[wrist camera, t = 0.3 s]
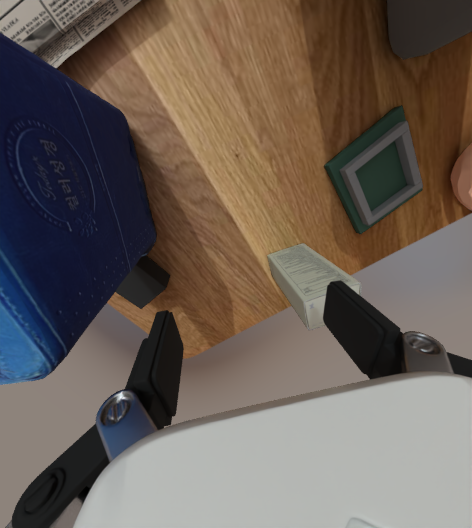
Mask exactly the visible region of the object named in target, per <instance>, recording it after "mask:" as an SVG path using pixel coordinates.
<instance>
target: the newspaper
mask: <svg viewBox="0 0 472 528" xmlns="http://www.w3.org/2000/svg"><path fill="white" fill-rule="evenodd" d="M140 1H141V0H0V33H2V34H3V35H5V36H7V37H8V38H10V39H11V40H13V41H14V42H16V43H17V44H19V45H21V46H22V47H24V48H26V49H27V50H29V51H30V52H32V53H34V54H35V55H37V56H38V57H40V58H41V59H42V60H44V61H45V62H47V63H49V64H50V65H52V66H53V67H55V68H57V67H58V66H59V65H61V64H62V63H63V62H64V61H65V60H66V59H67V58H68V57H69V56H71V55H72V54H73V53H75V52H76V51H77V50H78V49H80V48H81V47H82V46H83V45H85V44H86V43H87V42H89V41H90V40H91V39H92V38H94V37H95V36H96V35H98V34H99V33H100V32H101V31H103V30H104V29H105V28H106V27H108V26H109V25H110V24H112V23H113V22H114V21H115V20H117V19H118V18H119V17H120V16H122V15H123V14H124V13H126V12H127V11H128V10H129V9H131V8H132V7H133V6H135V5H136V4H137V3H138V2H140Z"/></svg>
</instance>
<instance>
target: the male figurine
mask: <svg viewBox="0 0 472 528" xmlns="http://www.w3.org/2000/svg"><path fill="white" fill-rule="evenodd" d="M450 178H451V182H452V187H453V191H454V195H455V196H456V198H457V199H458V201H459V202H461V203H462V204H463V205H464V206H465V207H466V208H468V209H469V210H471V211H472V143H471V144H470V145H469V146H468V147H467V148H466V149H465V150H464V151H463V153H462V154H461V155H460V156H459V158H458V159H457V160H456V163H455V165H454V167H453V170H452V174H451V177H450Z"/></svg>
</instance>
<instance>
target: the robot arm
mask: <svg viewBox="0 0 472 528" xmlns="http://www.w3.org/2000/svg"><path fill="white" fill-rule="evenodd" d="M323 321H324V323H325V325H326V326H327V327H328V329H329V330H330V331H331V333H332V334H333V335H334V337H335V338H336V339H337V340H338V342H339V343H340V344H341V345H342V347H343V348H344V350H345V351H346V352H347V353H348V355H349V356H350V357H351V359H352V360H353V361H354V363H355V364H356V365H357V366H358V368H359V369H360V370H361V372H363V373H364V374H366V375H367V376H368V377H369V378H370V380H366V381H361V382H357V383H352V384H347V385H343V386H338V387H333V388H329V389H324V390H320V391H315V392H310V393H306V394H301V395H297V396H293V397H288V398H283V399H279V400H274V401H270V402H266V403H261V404H257V405H252V406H248V407H244V408H239V409H235V410H230V411H226V412H222V413H217V414H213V415H209V416H206V417H202V418H197V419H193V420H189V421H185V422H182V423H178V424H175V425H172V426H169V427H166V428H164V426H168V425H171V420H172V416H175V414H176V408H177V400H178V392H179V384H180V376H181V367H182V359H183V350H184V349H183V343H182V340H181V337H180V334H179V331H178V328H177V325H176V322H175V319H174V316H173V314H172V312H170V313H169V311H168V310H166V311H161V312H157V313H156V316H155V319H154V322H153V325H152V328H151V331H150V334H149V337H148V338H146V339H144V340H143V341H142V344H141V346H140V349H139V352H138V355H137V357H136V360H135V363H134V365H133V368H132V371H131V374H130V376H129V379H128V382H127V385H126V387H125V389H124V390H120V391H118V392H116V393H114V394H113V395H111V396H110V397H109V398H108V399H107V400H106V401H105V402H104V403H103V405H102V406H101V407H100V409H99V411H98V413H97V417H96V424H95V425H94V426H93V427H92V428H90V429H89V430H88V431H87V432H86V433H85V434H84V435H83V436H82V437H80V438H79V440H77V441H76V442H75V443H74V444H73V445H72V446H71V447H69V448H68V449H67V450H66V451H65V452H64V453H63V454H62V455H61V456H60V457H58V458H57V459H56V460H55V461H54V462H53V463H52V464H51V465H50V466H48V467H47V468H46V469H45V470H44V471H43V472H42V473H41V474H40V475H39V476H38V477H37V478H36V479H35V480H34V481H33V482H32V483H31V484H30V485H29V486H28V488H27V489H26V490H25V492H24V493H23V494H22V496H21V498H20V500H19V501H18V503H17V505H16V507H15V510H14V513H13V516H12V520H11V522H10V523H9V524H8V525H7V526H6V527H5V528H472V360H469V359H466V358H463V357H460V356H457V355H454V354H451V353H448V352H446V350H445V348H444V347H443V345H442V344H441V343H440V342H439V341H437V340H436V339H434V338H433V337H431V336H429V335H426V334H423V333H420V332H415V331H409V332H405V333H404V334H403V333H402V332H400V328H399V327H398V326H396V325H395V324H394V323H393V322H392V321H390V320H389V319H388V318H387V317H385V316H384V315H383V314H382V313H381V312H379V311H378V310H377V309H376V308H375V307H373V306H372V305H371V304H370V303H368V302H367V301H366V300H365V299H364V298H362V297H361V296H360V295H359V294H357V293H356V292H355V291H354V290H353V289H351V288H350V287H349V286H348V285H346V284H345V283H344V282H343V281H341V280H338V281H332V282H330V283H329V285H328V286H327V291H326V298H325V305H324V313H323Z"/></svg>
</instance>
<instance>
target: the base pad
mask: <svg viewBox="0 0 472 528" xmlns="http://www.w3.org/2000/svg"><path fill="white" fill-rule="evenodd" d="M325 168H326V170H327V172H328V174H329V177H330V179H331V181H332V183H333V185H334V187H335V189H336V191H337V193H338V195H339V197H340V200H341V202H342V204H343V206H344V208H345V210H346V212H347V214H348V216H349V218H350V220H351V222H352V225H353V227H354V229H355V231H356V233H359V234H362V233H363V232H365V231H366V230H367V229H369V228H370V227H372V226H373V225H374V224H376V223H377V222H379V221H380V220H381V219H383V218H384V217H386V216H387V215H388V214H390V213H391V212H393V211H394V210H395V209H397V208H398V207H400V206H401V205H402V204H404V203H405V202H407V201H408V200H409V199H411V198H412V197H414V196H415V195H416V194H418V193H419V192H421V191H422V190H423V189H422V187H423V184H422V181H421V176H420V172H419V167H418V163H417V159H416V155H415V151H414V146H413V142H412V138H411V134H410V130H409V125H408V121H406V119H405V115H404V110H403V106H402V105H401V106H398V107H395V108H394V109H393V110H391V111H390V112H389V113H388V114H387V115H385V116H384V117H383V118H382V119H380V120H379V121H378V122H377V123H376V124H374V125H373V126H372V127H371V128H369V129H368V130H367V131H366V132H365V133H363V134H362V135H361V136H360V137H359V138H357V139H356V140H355V141H354V142H352V143H351V144H350V145H349V146H348V147H346V148H345V149H344V150H343V151H341V152H340V153H339V154H338V155H337V156H335V157H334V158H333V159H332V160H331V161H329V162H328V163H327V164H326V165H325Z"/></svg>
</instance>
